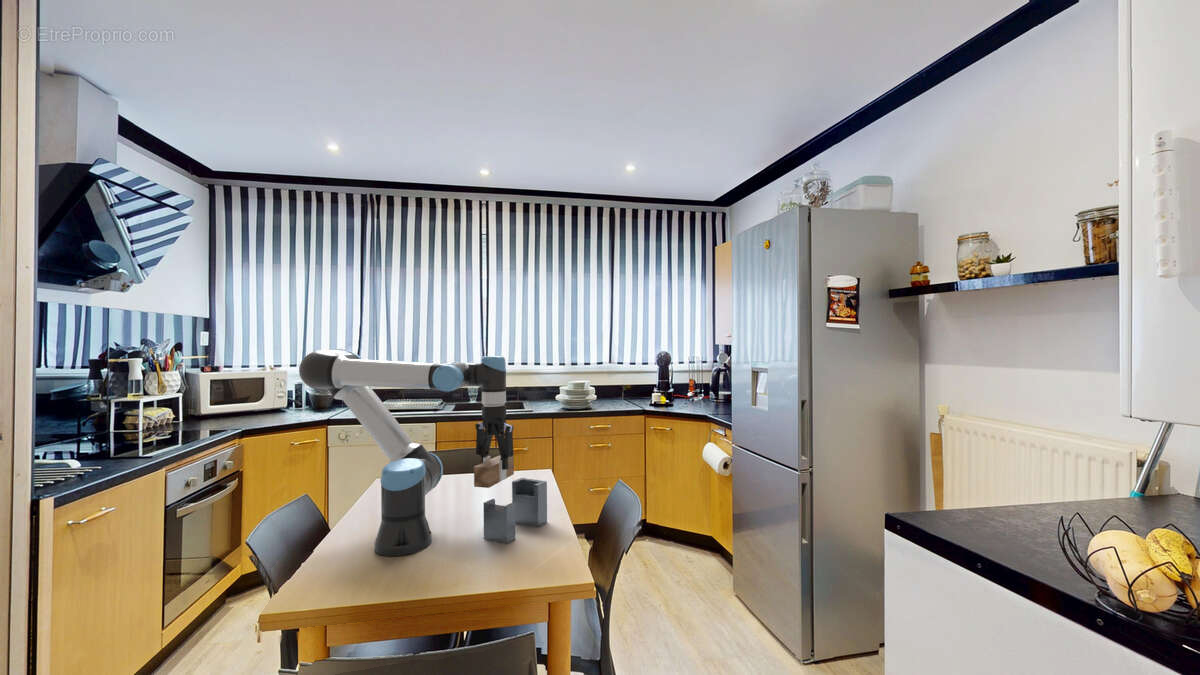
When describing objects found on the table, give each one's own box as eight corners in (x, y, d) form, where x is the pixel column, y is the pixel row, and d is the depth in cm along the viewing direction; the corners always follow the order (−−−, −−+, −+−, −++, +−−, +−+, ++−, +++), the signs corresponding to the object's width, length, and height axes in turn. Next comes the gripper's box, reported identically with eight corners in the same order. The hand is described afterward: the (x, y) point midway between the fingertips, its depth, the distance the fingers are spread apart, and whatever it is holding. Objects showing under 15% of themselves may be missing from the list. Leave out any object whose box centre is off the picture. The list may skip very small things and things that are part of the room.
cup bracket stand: (481, 538, 143) (481, 493, 143) (521, 517, 160) (521, 477, 160) (508, 544, 138) (508, 498, 139) (547, 522, 156) (546, 481, 156)
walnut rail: (474, 486, 146) (473, 466, 146) (500, 473, 162) (500, 455, 162) (488, 487, 145) (488, 467, 145) (513, 474, 160) (513, 455, 160)
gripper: (525, 404, 153) (526, 478, 152) (479, 402, 161) (479, 472, 161) (510, 407, 146) (511, 485, 146) (463, 404, 154) (463, 478, 154)
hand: (494, 478), depth 153 cm, fingers closed on walnut rail, 6 cm apart
